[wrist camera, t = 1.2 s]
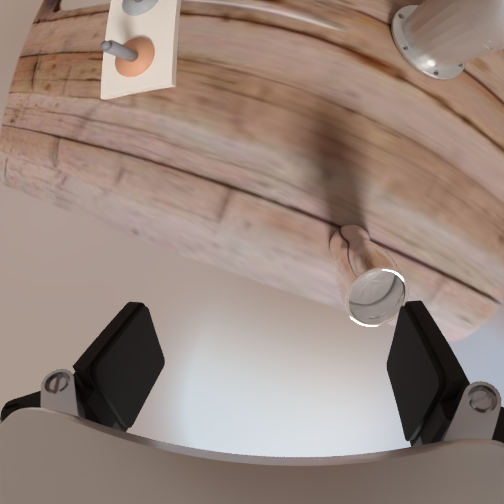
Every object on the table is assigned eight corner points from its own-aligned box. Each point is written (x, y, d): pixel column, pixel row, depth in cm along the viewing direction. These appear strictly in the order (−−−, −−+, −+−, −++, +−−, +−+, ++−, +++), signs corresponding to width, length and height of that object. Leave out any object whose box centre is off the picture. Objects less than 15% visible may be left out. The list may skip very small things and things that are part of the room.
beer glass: (317, 256, 40) (330, 315, 26) (339, 213, 37) (366, 253, 24) (358, 274, 40) (385, 336, 26) (381, 233, 38) (423, 281, 24)
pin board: (118, -11, 27) (88, -31, 18) (184, -30, 26) (161, -59, 17) (106, 99, 35) (66, 95, 26) (175, 86, 34) (143, 73, 25)
